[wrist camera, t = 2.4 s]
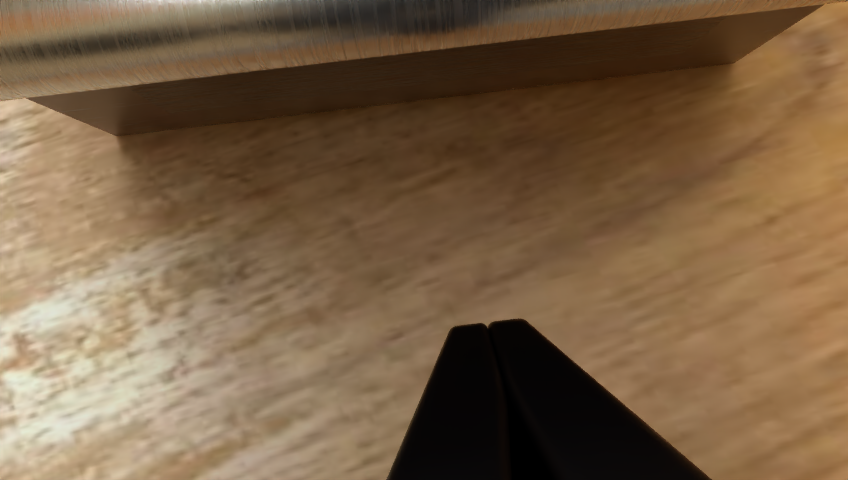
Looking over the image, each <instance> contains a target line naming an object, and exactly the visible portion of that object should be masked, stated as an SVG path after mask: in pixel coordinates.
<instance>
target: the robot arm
mask: <svg viewBox="0 0 848 480" xmlns="http://www.w3.org/2000/svg"><path fill="white" fill-rule="evenodd" d="M386 480H712V479H710V478H709V477H708V476H707V475H706V474H705V473H703V472H702V471H701V470H700V469H699V468H698V467H696V466H695V465H694V464H693V463H692V462H691V461H689V460H688V459H687V458H686V457H685V456H684V455H682V454H681V453H680V452H679V451H678V450H677V449H675V448H674V447H673V446H672V445H671V444H670V443H668V442H667V441H666V440H665V439H664V438H662V437H661V436H660V435H659V434H658V433H657V432H655V431H654V430H653V429H652V428H651V427H650V426H648V425H647V424H646V423H645V422H644V421H643V420H641V419H640V418H639V417H638V416H637V415H636V414H634V413H633V412H632V411H631V410H630V409H629V408H627V407H626V406H625V405H624V404H623V403H622V402H620V401H619V400H618V399H617V398H616V397H615V396H613V395H612V394H611V393H610V392H609V391H608V390H606V389H605V388H604V387H603V386H602V385H601V384H599V383H598V382H597V381H596V380H595V379H594V378H592V377H591V376H590V375H589V374H588V373H587V372H585V371H584V370H583V369H582V368H581V367H580V366H578V365H577V364H576V363H575V362H574V361H573V360H571V359H570V358H569V357H568V356H567V355H565V354H564V353H563V352H562V351H561V350H560V349H558V348H557V347H556V346H555V345H554V344H553V343H551V342H550V341H549V340H548V339H547V338H546V337H544V336H543V335H542V334H541V333H540V332H539V331H537V330H536V329H535V328H534V327H533V326H532V325H530V324H529V323H528V322H527V321H526V320H523V319H519V318H518V319H510V320H501V321H494V322H491V323H490V324H489V326H488V328H487V326H486V325H485V324H483V323H477V324H468V325H460V326H454V327H452V328H451V329H450V331H449V333H448V335H447V337H446V340H445V342H444V345H443V347H442V349H441V352H440V354H439V356H438V359H437V361H436V363H435V366H434V368H433V371H432V373H431V375H430V378H429V380H428V382H427V385H426V387H425V389H424V392H423V394H422V397H421V399H420V401H419V404H418V406H417V408H416V411H415V413H414V416H413V418H412V420H411V423H410V425H409V427H408V430H407V432H406V434H405V437H404V439H403V442H402V444H401V446H400V449H399V451H398V453H397V456H396V458H395V461H394V463H393V465H392V468H391V470H390V472H389V475H388V477H387V479H386Z"/></svg>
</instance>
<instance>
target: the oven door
mask: <svg viewBox="0 0 848 480" xmlns="http://www.w3.org/2000/svg"><path fill="white" fill-rule="evenodd" d="M847 1H848V0H0V101H5V100H13V99H22V98H26V99H29V100H31V101H34V102H36V103H38V104H41V105H43V106H45V107H48V108H50V109H53V110H55V111H57V112H60V113H62V114H65V115H67V116H69V117H72V118H74V119H77V120H79V121H81V122H84V123H86V124H89V125H91V126H93V127H96V128H98V129H101V130H103V131H105V132H108V133H110V134H113V135H115V136H121V135H130V134H138V133H147V132H155V131H164V130H172V129H181V128H189V127H198V126H206V125H214V124H223V123H231V122H240V121H248V120H257V119H265V118H274V117H282V116H291V115H299V114H308V113H316V112H325V111H333V110H342V109H350V108H358V107H367V106H375V105H384V104H392V103H401V102H409V101H418V100H426V99H435V98H443V97H452V96H460V95H469V94H477V93H486V92H494V91H503V90H511V89H519V88H528V87H536V86H545V85H553V84H562V83H570V82H579V81H587V80H596V79H604V78H613V77H621V76H630V75H638V74H647V73H655V72H663V71H672V70H680V69H689V68H697V67H706V66H714V65H723V64H731V63H735V62H736V61H738V60H739V59H741V58H743V57H744V56H746V55H747V54H749V53H750V52H752V51H753V50H755V49H756V48H758V47H760V46H761V45H763V44H764V43H766V42H767V41H769V40H770V39H772V38H773V37H775V36H777V35H778V34H780V33H781V32H783V31H784V30H786V29H787V28H789V27H790V26H792V25H794V24H795V23H797V22H798V21H800V20H801V19H803V18H804V17H806V16H807V15H809V14H811V13H812V12H814V11H815V10H817V9H818V8H820V7H821V6H823V5H824V4H830V3H838V2H847Z"/></svg>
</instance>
